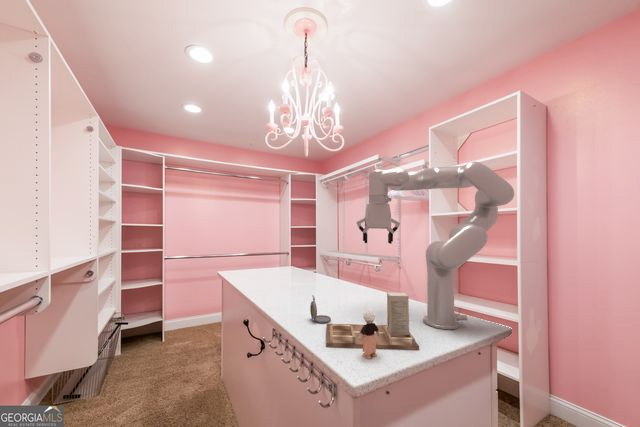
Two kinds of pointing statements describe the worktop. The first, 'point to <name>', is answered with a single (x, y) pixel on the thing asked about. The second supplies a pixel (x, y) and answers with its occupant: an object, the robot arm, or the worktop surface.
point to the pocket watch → (314, 313)
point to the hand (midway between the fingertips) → (377, 243)
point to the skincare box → (398, 313)
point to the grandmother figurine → (369, 335)
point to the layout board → (350, 338)
